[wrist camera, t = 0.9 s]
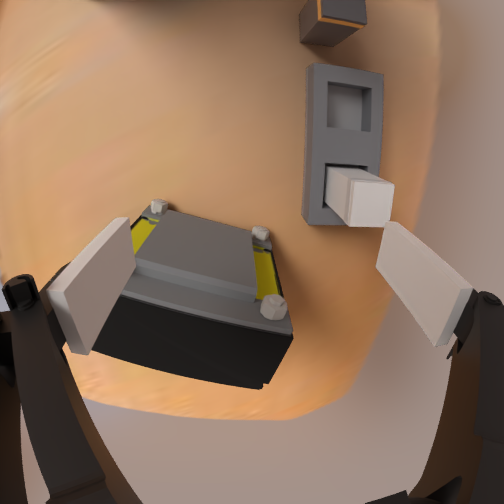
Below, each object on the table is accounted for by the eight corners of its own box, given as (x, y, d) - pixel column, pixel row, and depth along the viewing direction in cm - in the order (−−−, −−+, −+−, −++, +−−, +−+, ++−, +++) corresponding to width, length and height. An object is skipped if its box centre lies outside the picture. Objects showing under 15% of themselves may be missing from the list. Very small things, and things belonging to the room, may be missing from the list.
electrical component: (274, 226, 40) (304, 317, 22) (252, 287, 44) (262, 395, 26) (150, 193, 37) (80, 260, 19) (139, 258, 41) (85, 352, 23)
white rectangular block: (322, 163, 35) (354, 181, 25) (355, 166, 35) (395, 184, 25) (320, 198, 37) (349, 227, 27) (352, 199, 37) (388, 227, 27)
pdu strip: (305, 68, 30) (313, 62, 27) (370, 78, 31) (384, 74, 27) (301, 214, 39) (307, 224, 35) (361, 215, 39) (373, 225, 36)
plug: (298, 14, 27) (320, -20, 17) (332, 18, 27) (364, -11, 17) (299, 42, 29) (322, 15, 19) (333, 47, 29) (367, 24, 19)
